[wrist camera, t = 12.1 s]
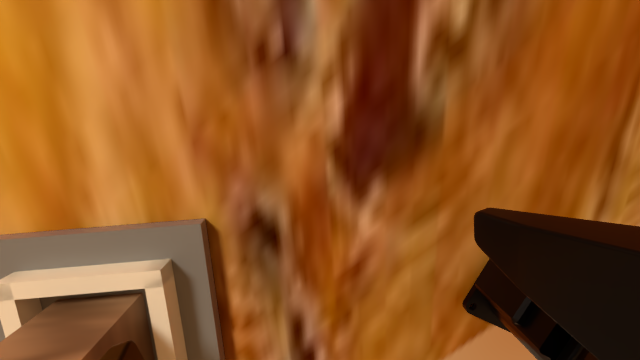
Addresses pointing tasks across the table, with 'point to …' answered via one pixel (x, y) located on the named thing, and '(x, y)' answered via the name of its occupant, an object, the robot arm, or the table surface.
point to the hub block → (81, 329)
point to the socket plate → (119, 279)
